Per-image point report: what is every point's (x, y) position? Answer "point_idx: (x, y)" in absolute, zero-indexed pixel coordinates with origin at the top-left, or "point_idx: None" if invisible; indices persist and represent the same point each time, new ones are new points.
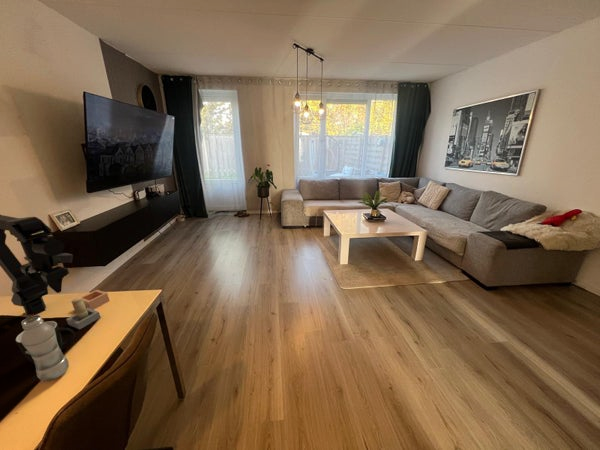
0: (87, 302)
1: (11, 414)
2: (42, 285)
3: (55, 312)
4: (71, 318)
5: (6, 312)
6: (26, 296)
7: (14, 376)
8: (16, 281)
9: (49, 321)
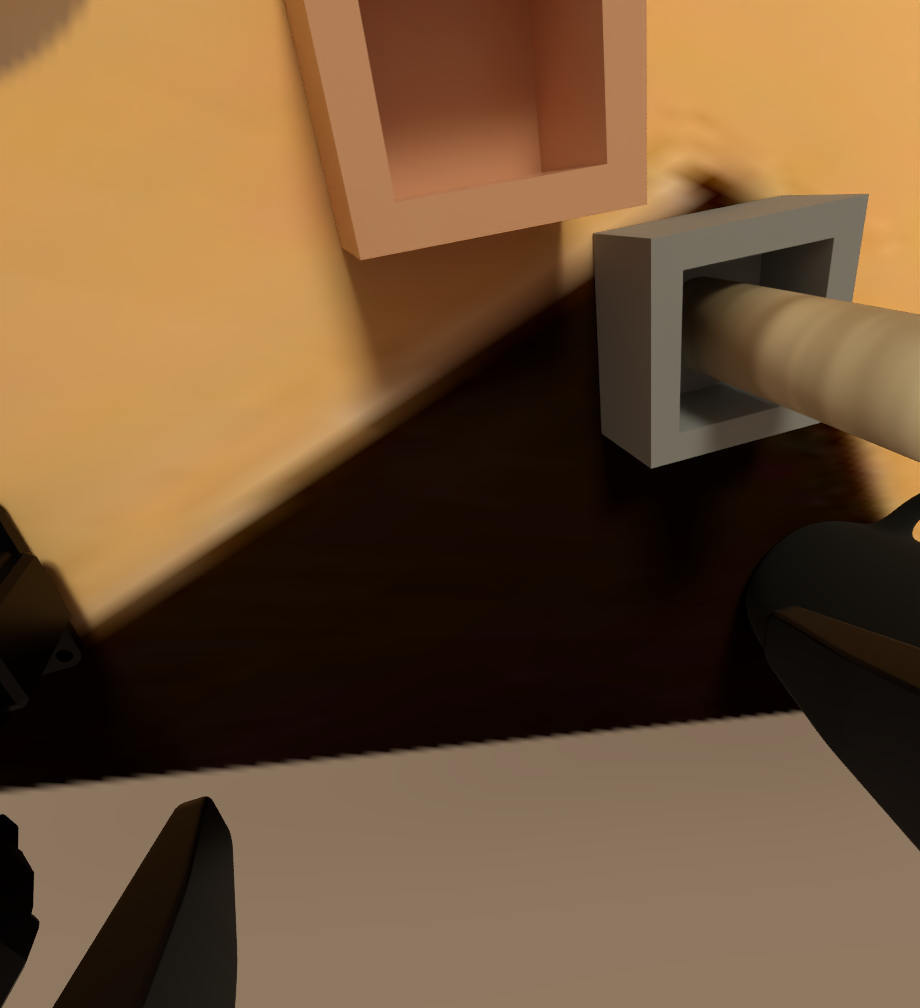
0: (622, 207)
1: None
2: (231, 940)
3: (145, 472)
4: (692, 432)
5: None
6: (26, 921)
7: (780, 691)
8: None
9: None
